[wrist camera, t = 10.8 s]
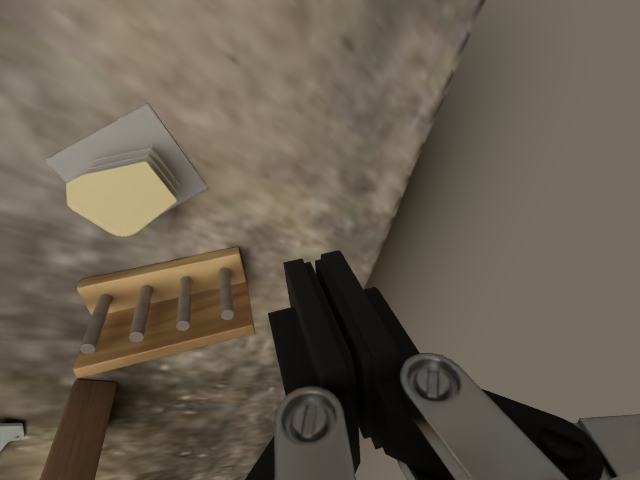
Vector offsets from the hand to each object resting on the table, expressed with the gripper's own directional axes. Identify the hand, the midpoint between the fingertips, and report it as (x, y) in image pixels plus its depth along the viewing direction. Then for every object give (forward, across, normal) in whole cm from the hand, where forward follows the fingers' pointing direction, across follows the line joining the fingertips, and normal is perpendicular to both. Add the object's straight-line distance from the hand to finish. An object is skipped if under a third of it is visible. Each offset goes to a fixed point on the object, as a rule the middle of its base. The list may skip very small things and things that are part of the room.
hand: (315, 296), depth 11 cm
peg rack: (+27, +11, +16) cm, 34 cm away
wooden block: (+27, +25, +32) cm, 49 cm away
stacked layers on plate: (+27, +11, +4) cm, 30 cm away
